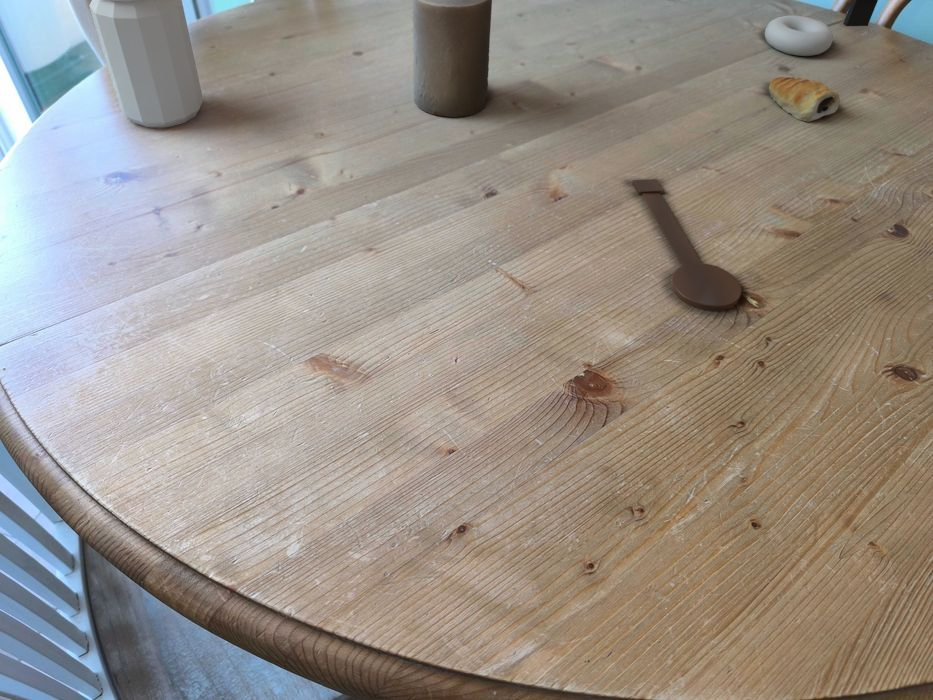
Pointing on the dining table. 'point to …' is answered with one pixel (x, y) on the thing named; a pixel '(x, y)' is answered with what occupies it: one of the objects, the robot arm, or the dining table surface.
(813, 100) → the pastry
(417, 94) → the pillar candle
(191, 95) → the jar
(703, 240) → the dining table surface
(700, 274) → the spoon
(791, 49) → the donut
